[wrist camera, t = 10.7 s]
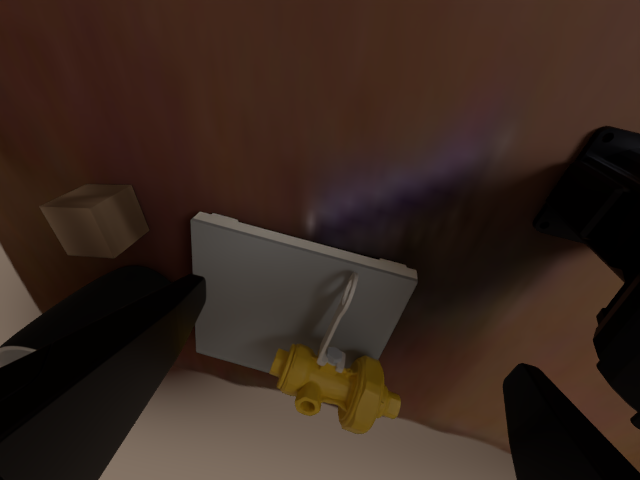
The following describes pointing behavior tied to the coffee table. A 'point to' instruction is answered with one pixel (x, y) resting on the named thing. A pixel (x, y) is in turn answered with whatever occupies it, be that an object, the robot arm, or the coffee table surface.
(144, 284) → the mug
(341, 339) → the stand
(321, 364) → the pressure relief valve
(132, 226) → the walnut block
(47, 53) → the coffee table surface
